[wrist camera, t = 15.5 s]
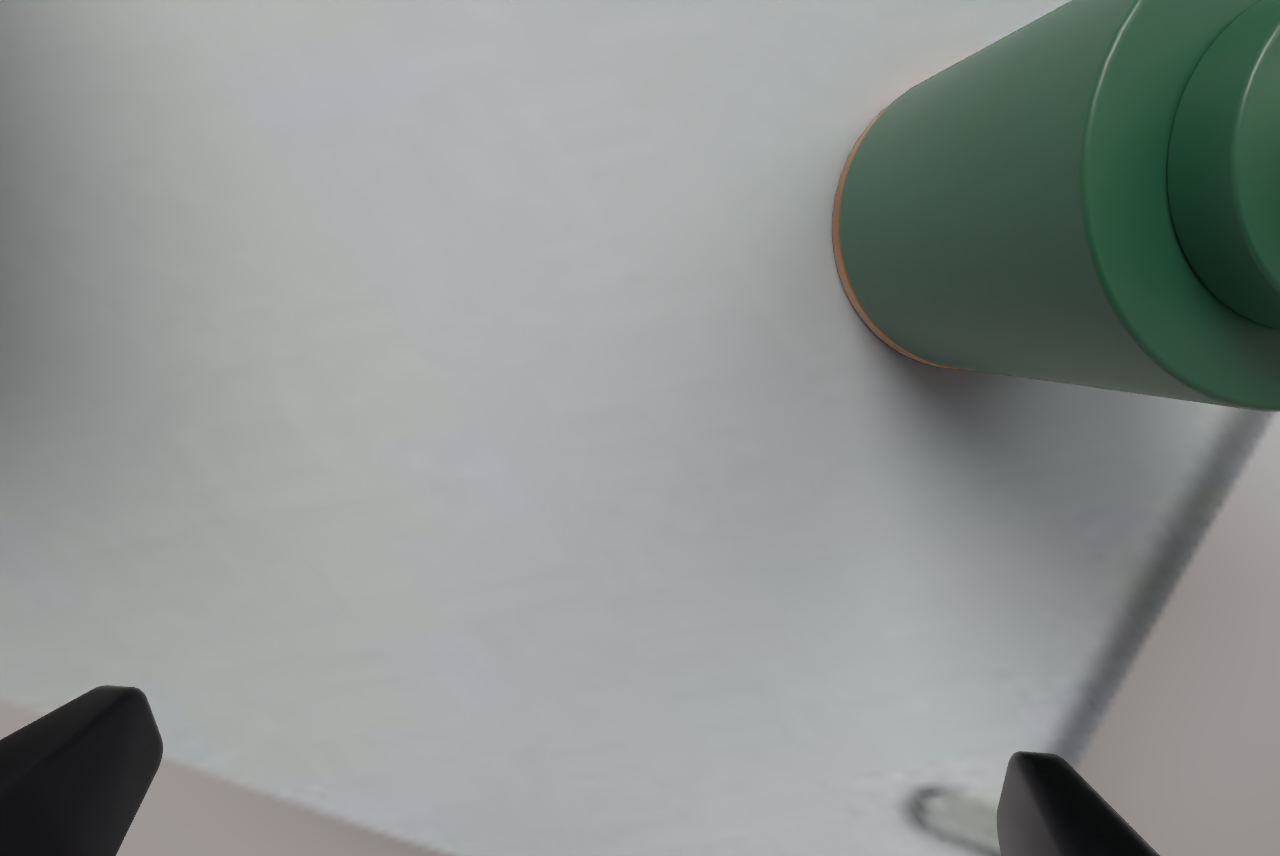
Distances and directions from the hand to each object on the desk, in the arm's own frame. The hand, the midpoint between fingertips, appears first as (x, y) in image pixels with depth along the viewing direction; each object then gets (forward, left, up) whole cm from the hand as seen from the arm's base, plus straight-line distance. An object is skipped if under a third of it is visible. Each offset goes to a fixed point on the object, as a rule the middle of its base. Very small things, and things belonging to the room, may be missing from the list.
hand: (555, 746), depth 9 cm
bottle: (+5, -10, -8) cm, 14 cm away
